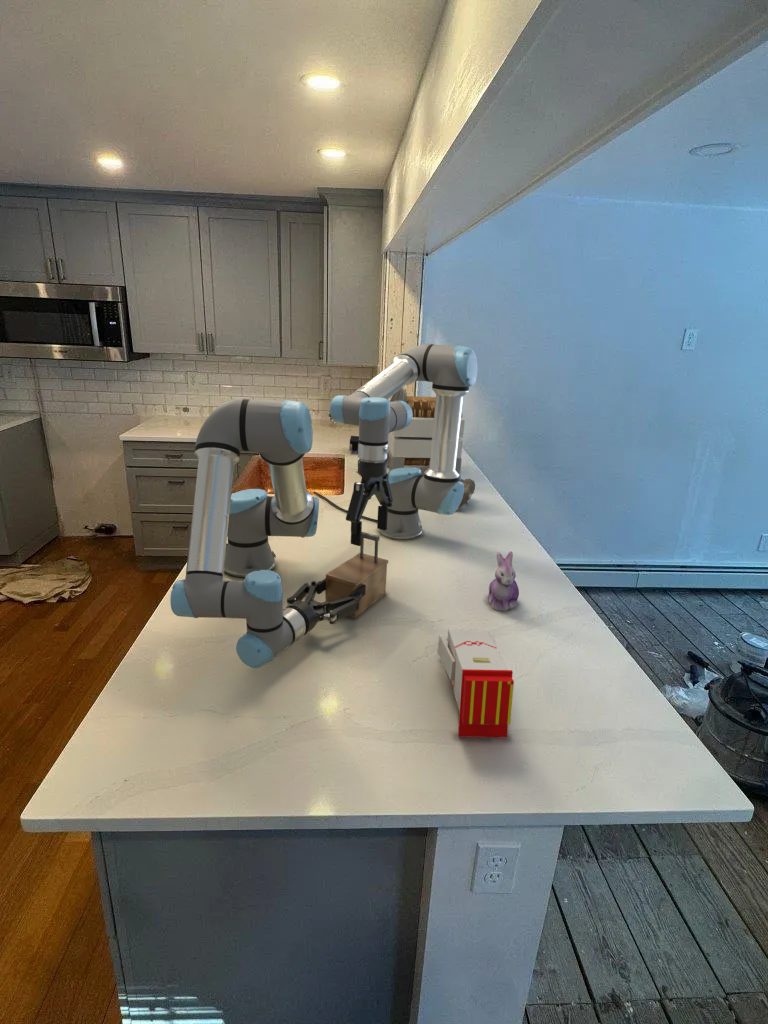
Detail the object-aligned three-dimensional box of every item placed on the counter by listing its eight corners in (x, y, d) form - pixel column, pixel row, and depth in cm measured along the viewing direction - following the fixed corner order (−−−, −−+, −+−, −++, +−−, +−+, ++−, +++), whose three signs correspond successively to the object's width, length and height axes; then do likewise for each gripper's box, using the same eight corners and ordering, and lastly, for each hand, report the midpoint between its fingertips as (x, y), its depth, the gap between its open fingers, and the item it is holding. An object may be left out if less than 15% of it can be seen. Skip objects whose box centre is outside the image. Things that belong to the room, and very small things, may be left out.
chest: (357, 585, 162) (358, 556, 159) (385, 593, 158) (387, 564, 154) (325, 608, 148) (325, 577, 145) (354, 618, 144) (355, 587, 141)
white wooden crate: (382, 463, 289) (386, 382, 275) (445, 464, 293) (451, 384, 279) (390, 482, 257) (394, 392, 243) (460, 483, 261) (468, 394, 247)
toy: (488, 613, 130) (523, 677, 101) (484, 667, 133) (517, 744, 104) (435, 612, 130) (455, 676, 101) (432, 666, 133) (451, 743, 103)
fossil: (439, 484, 243) (468, 465, 238) (451, 501, 246) (481, 483, 241) (438, 506, 224) (470, 486, 219) (452, 524, 226) (484, 505, 221)
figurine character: (361, 457, 304) (361, 447, 317) (361, 444, 301) (362, 434, 314) (348, 456, 304) (349, 447, 317) (348, 443, 300) (349, 434, 314)
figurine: (500, 615, 149) (507, 563, 144) (477, 598, 157) (483, 548, 152) (528, 608, 153) (536, 557, 148) (504, 591, 161) (510, 543, 156)
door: (360, 555, 159) (361, 526, 156) (388, 563, 155) (389, 534, 152) (325, 577, 145) (325, 546, 142) (355, 586, 141) (356, 555, 138)
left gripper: (257, 622, 135) (314, 586, 153) (333, 651, 125) (384, 608, 143) (256, 594, 132) (314, 561, 151) (334, 621, 122) (385, 582, 141)
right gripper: (359, 472, 133) (356, 555, 140) (407, 452, 153) (403, 526, 160) (332, 466, 136) (331, 548, 143) (383, 448, 157) (380, 520, 164)
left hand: (348, 584), depth 147 cm, fingers closed on chest, 9 cm apart
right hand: (369, 536), depth 152 cm, fingers open, 13 cm apart
